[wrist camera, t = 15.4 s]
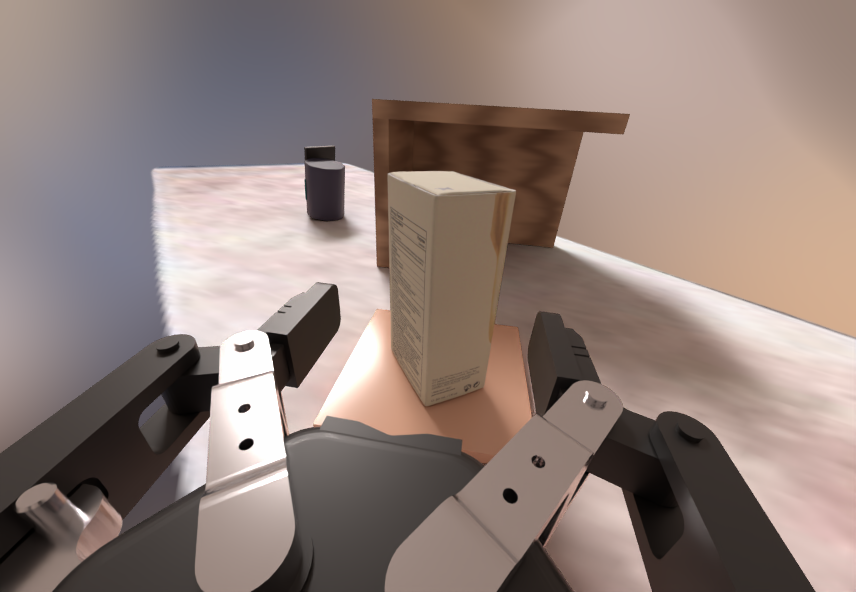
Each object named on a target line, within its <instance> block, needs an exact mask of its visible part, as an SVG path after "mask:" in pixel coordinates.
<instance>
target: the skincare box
mask: <svg viewBox="0 0 856 592" xmlns="http://www.w3.org/2000/svg"><path fill="white" fill-rule="evenodd" d="M515 196H516V190H513V189H509V188H506V187H503V186H499V185H496V184H493V183H490V182H486V181H483V180H479V179H476V178H473V177H469V176H466V175H463V174H460V173H456V172H453V171H451V172H449V171H414V172H392V173H388V217H389V267H390V312H391V349H392V351H393V353H394V355H395V357H396V359H397V361H398V363H399V364H400V366H401V368H402V370H403V371H404V373H405V375H406V376H407V378H408V380H409V382H410V383H411V385H412V386H413V388H414V390H415V391H416V393H417V394H418V396H419V398H420V399H421V401H422V402H423V404H424V405H425V406H430V405H433V404H436V403H440V402H443V401H446V400H449V399H452V398H455V397H458V396H461V395H464V394H467V393H470V392H473V391H475V390H478V389H480V388H483V387H484V385H485V379H486V373H487V367H488V361H489V355H490V349H491V342H492V336H493V330H494V324H495V318H496V311H497V306H498V300H499V293H500V287H501V281H502V275H503V269H504V263H505V256H506V250H507V244H508V238H509V232H510V225H511V220H512V213H513V207H514V202H515Z"/></svg>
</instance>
